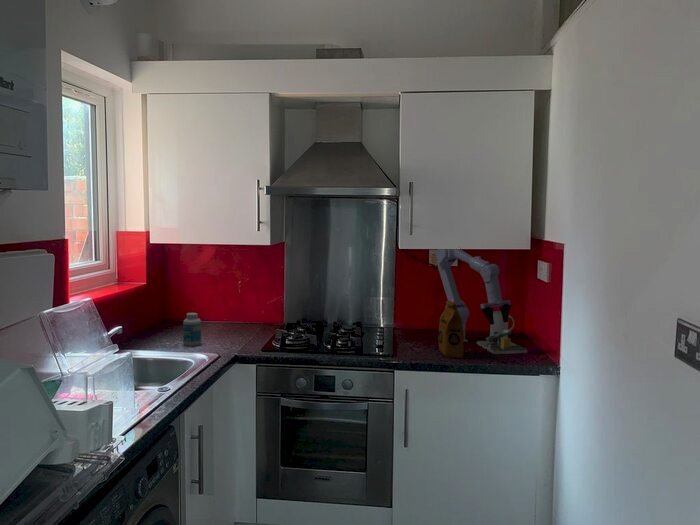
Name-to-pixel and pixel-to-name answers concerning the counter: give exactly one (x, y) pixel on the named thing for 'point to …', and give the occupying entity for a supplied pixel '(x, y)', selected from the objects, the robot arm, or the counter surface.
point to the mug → (499, 323)
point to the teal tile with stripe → (505, 332)
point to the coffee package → (451, 332)
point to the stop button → (492, 339)
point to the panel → (497, 349)
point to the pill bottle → (192, 330)
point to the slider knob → (505, 342)
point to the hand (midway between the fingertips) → (498, 323)
